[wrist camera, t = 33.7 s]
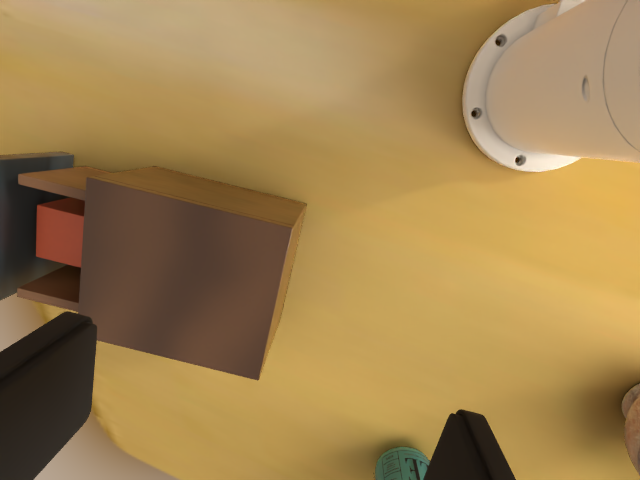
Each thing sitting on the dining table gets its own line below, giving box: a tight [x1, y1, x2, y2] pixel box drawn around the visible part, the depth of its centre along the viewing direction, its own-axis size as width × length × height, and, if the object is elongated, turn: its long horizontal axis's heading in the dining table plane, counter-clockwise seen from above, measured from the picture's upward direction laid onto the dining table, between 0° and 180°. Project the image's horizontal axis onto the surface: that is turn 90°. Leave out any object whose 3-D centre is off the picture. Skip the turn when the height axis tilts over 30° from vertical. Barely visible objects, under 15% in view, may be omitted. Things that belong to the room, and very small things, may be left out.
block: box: [36, 197, 85, 268], centre depth 33 cm, size 4×4×4 cm
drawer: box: [0, 152, 111, 312], centre depth 32 cm, size 18×11×8 cm, turn 77°
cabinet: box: [78, 166, 307, 380], centre depth 32 cm, size 15×13×10 cm
